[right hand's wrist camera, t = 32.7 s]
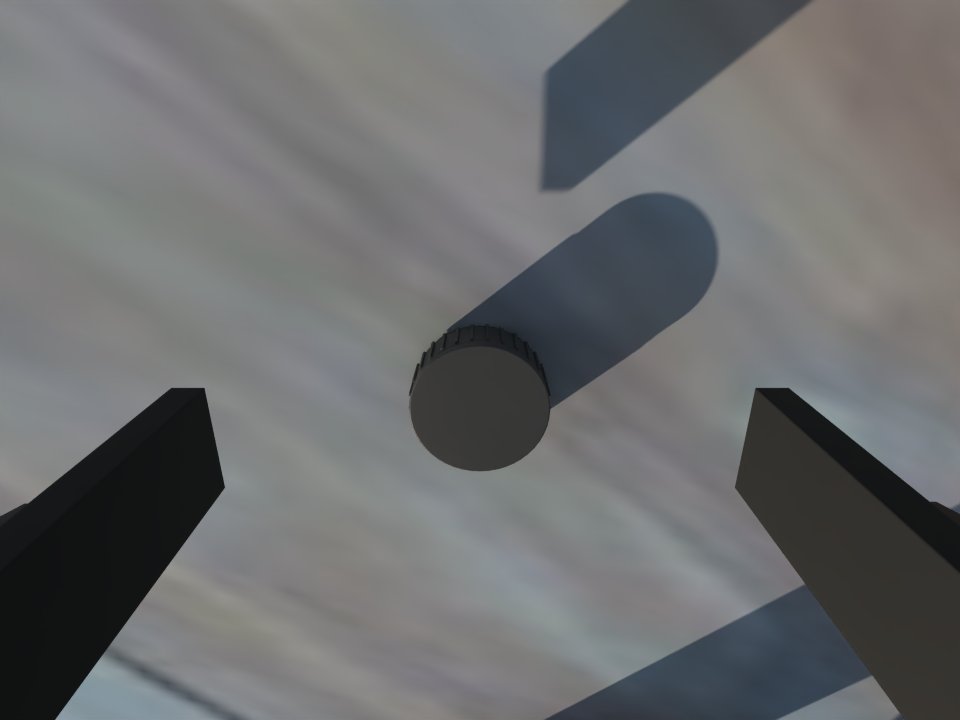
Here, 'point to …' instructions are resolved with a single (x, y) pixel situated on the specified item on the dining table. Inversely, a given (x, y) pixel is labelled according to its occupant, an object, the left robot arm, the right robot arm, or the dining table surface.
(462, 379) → the cap
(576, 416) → the dining table surface
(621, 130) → the dining table surface
